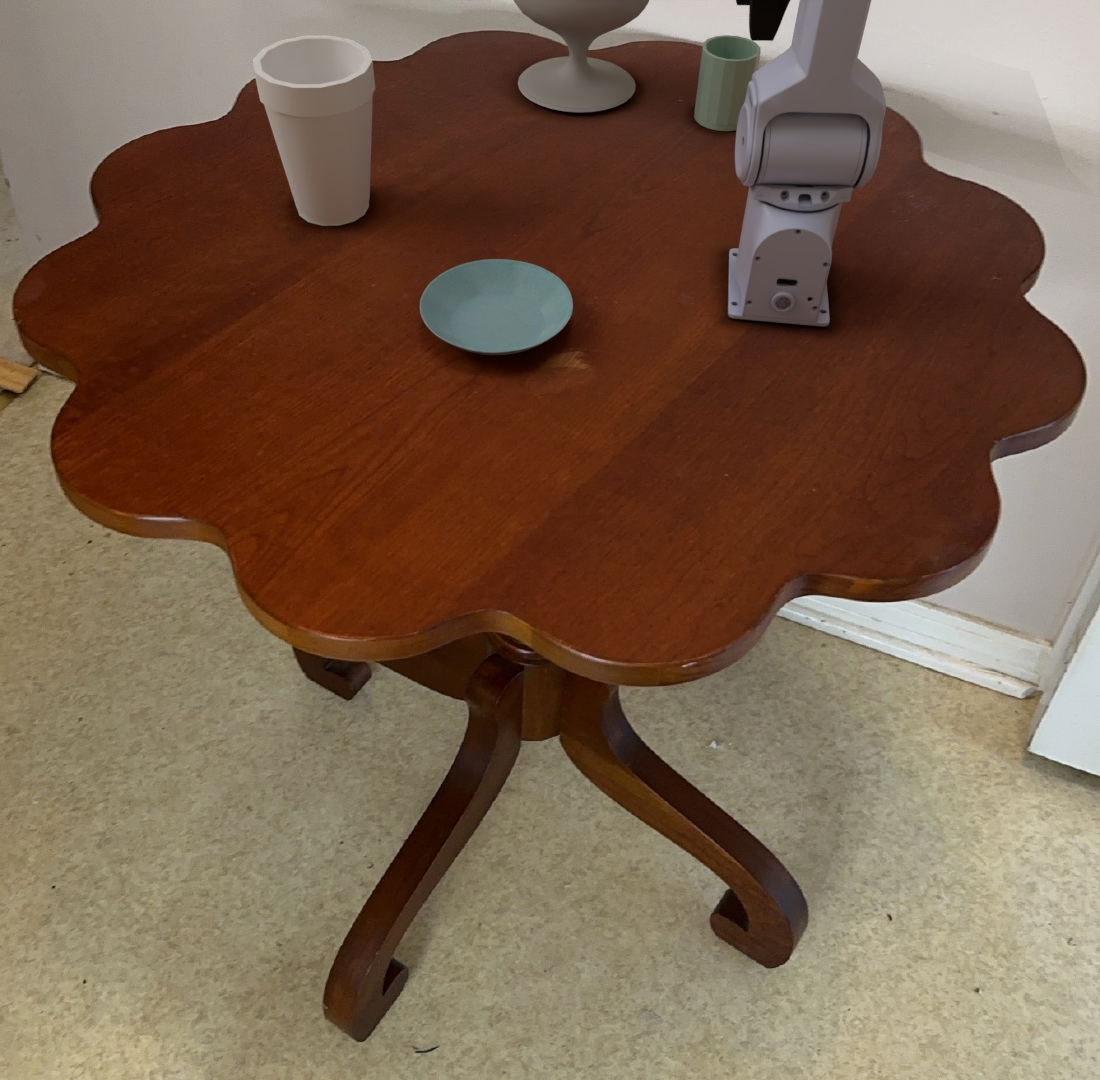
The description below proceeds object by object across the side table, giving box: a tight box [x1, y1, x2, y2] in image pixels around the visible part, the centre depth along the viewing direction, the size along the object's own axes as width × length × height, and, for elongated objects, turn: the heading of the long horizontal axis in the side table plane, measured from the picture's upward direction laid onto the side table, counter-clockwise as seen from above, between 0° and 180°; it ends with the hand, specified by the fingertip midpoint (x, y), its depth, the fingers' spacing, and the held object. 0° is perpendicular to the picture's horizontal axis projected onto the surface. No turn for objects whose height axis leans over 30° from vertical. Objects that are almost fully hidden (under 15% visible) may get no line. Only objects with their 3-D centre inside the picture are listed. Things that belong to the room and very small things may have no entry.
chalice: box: [513, 0, 650, 113], centre depth 107 cm, size 14×14×15 cm
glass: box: [693, 34, 761, 132], centre depth 107 cm, size 6×6×7 cm
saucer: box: [419, 258, 574, 356], centre depth 85 cm, size 12×12×2 cm
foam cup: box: [252, 34, 376, 227], centre depth 92 cm, size 10×9×13 cm
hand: (754, 21), depth 102 cm, fingers open, 7 cm apart
